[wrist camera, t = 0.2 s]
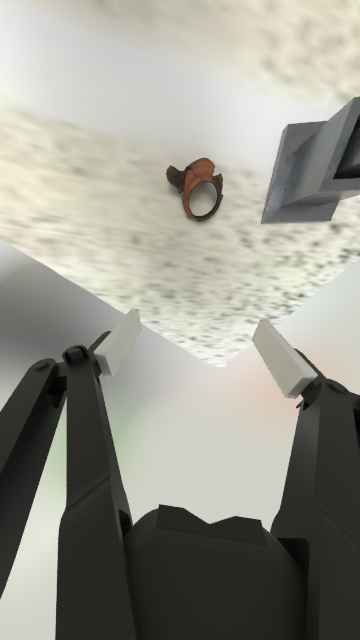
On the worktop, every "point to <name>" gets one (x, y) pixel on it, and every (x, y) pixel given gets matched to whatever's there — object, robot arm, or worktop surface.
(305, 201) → the stand base
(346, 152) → the column
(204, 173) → the pottery mug
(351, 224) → the worktop surface
